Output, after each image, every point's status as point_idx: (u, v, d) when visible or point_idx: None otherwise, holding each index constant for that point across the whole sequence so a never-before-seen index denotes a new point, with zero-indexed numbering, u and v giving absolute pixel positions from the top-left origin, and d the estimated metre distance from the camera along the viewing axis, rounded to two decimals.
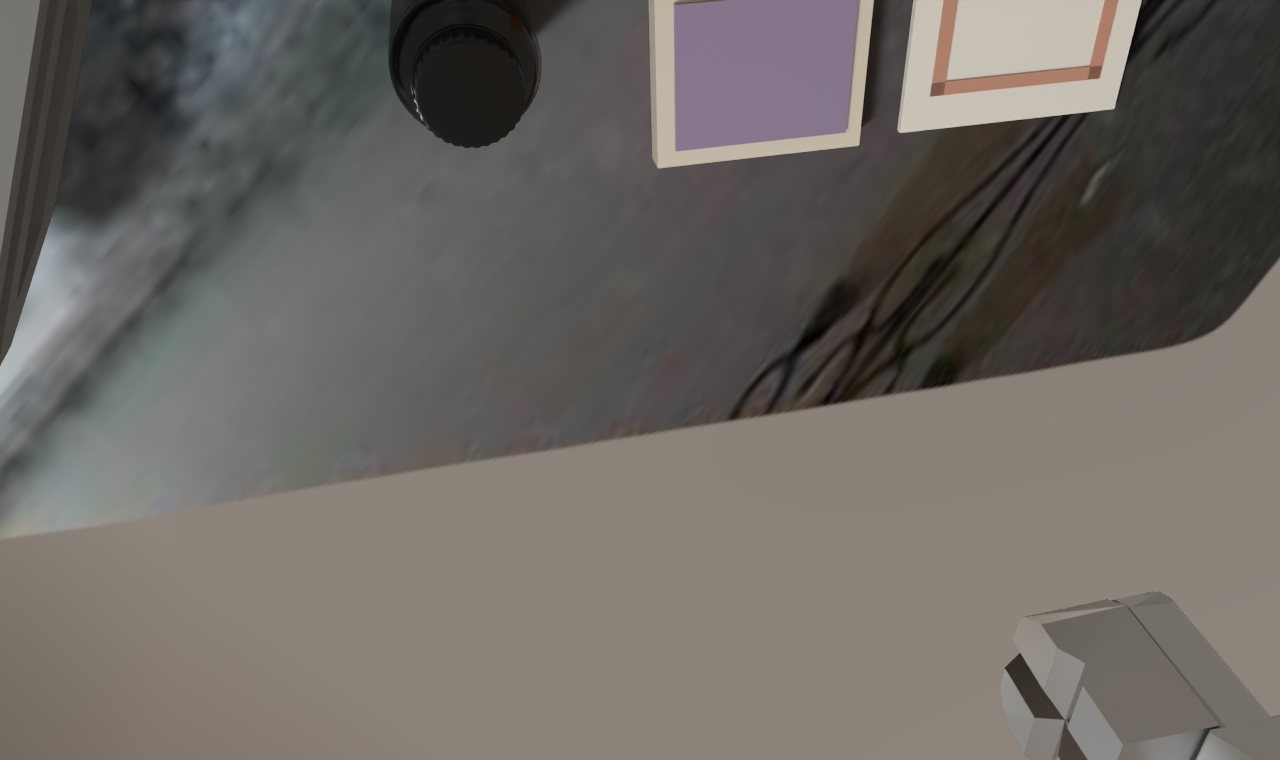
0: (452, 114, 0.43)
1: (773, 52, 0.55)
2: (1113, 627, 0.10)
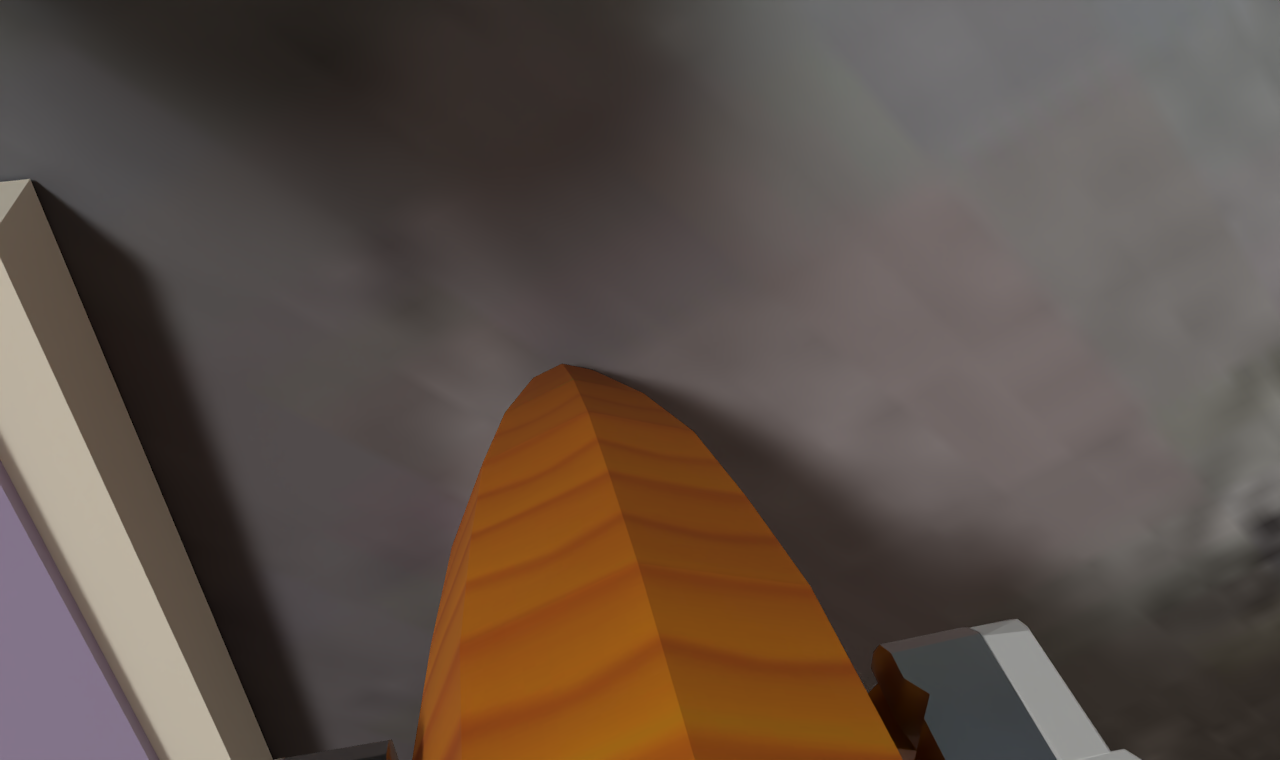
0: None
1: None
2: (963, 656, 0.10)
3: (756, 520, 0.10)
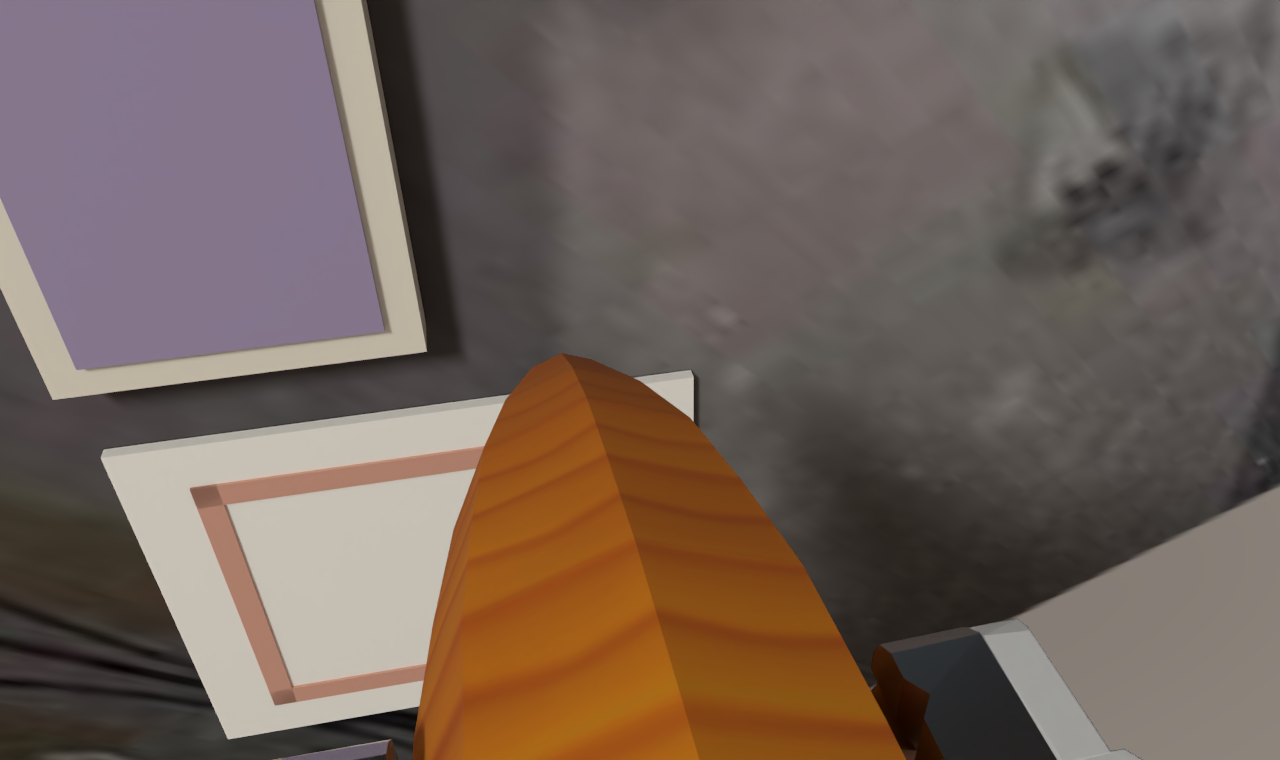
0: None
1: (227, 191, 0.25)
2: (963, 656, 0.10)
3: (750, 502, 0.11)
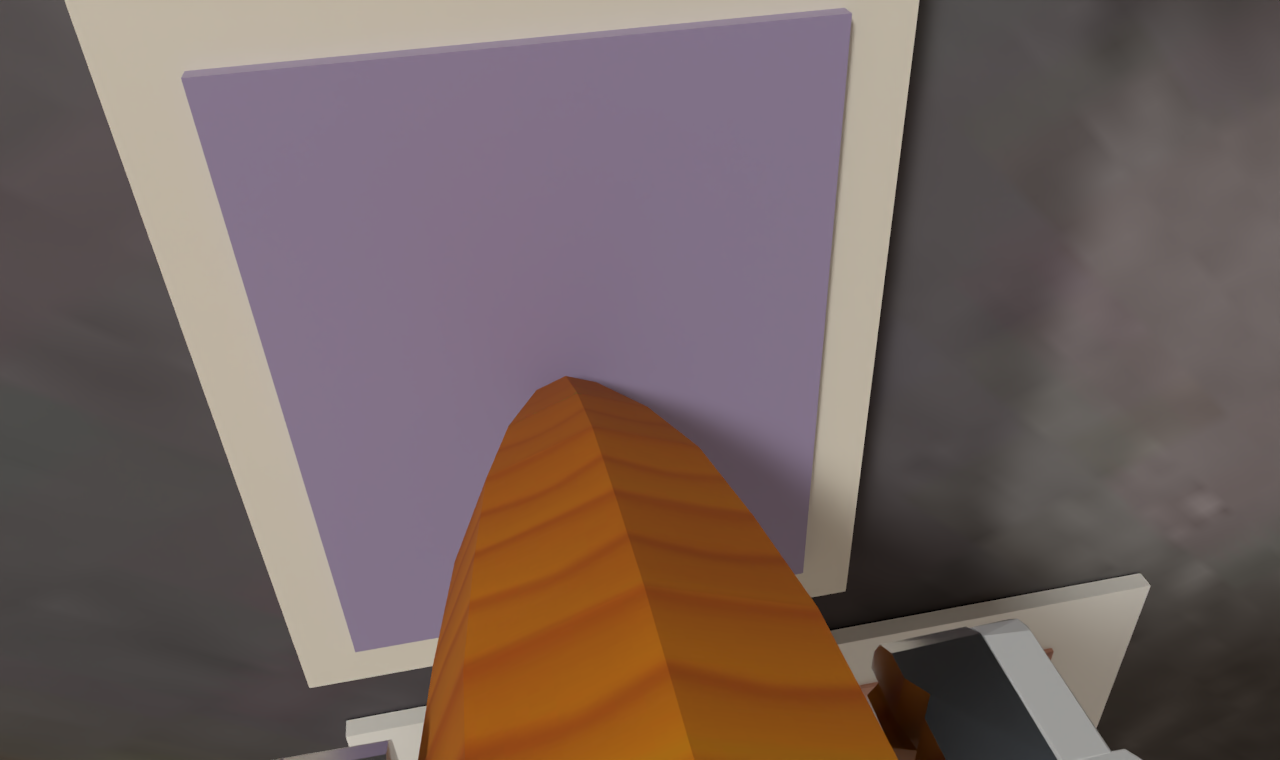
0: None
1: (634, 396, 0.15)
2: (964, 656, 0.10)
3: (763, 539, 0.10)
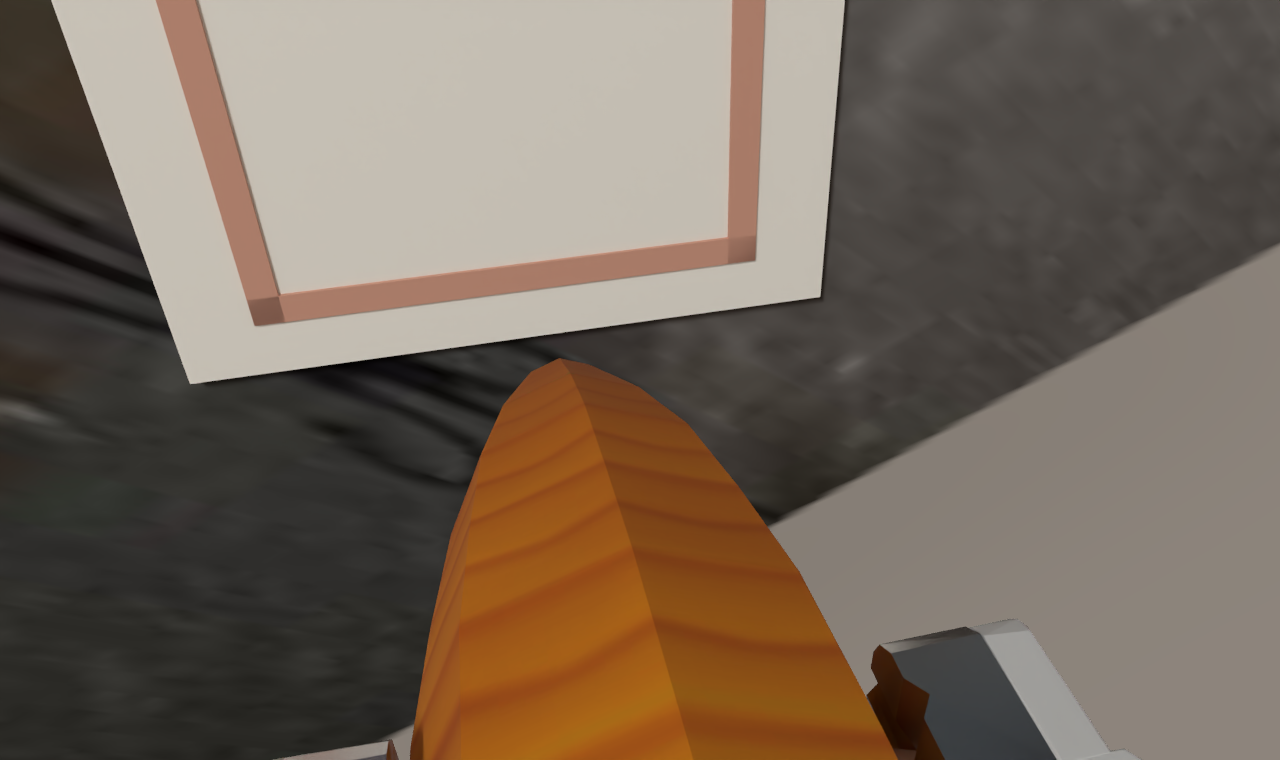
0: None
1: None
2: (963, 656, 0.10)
3: (747, 509, 0.11)
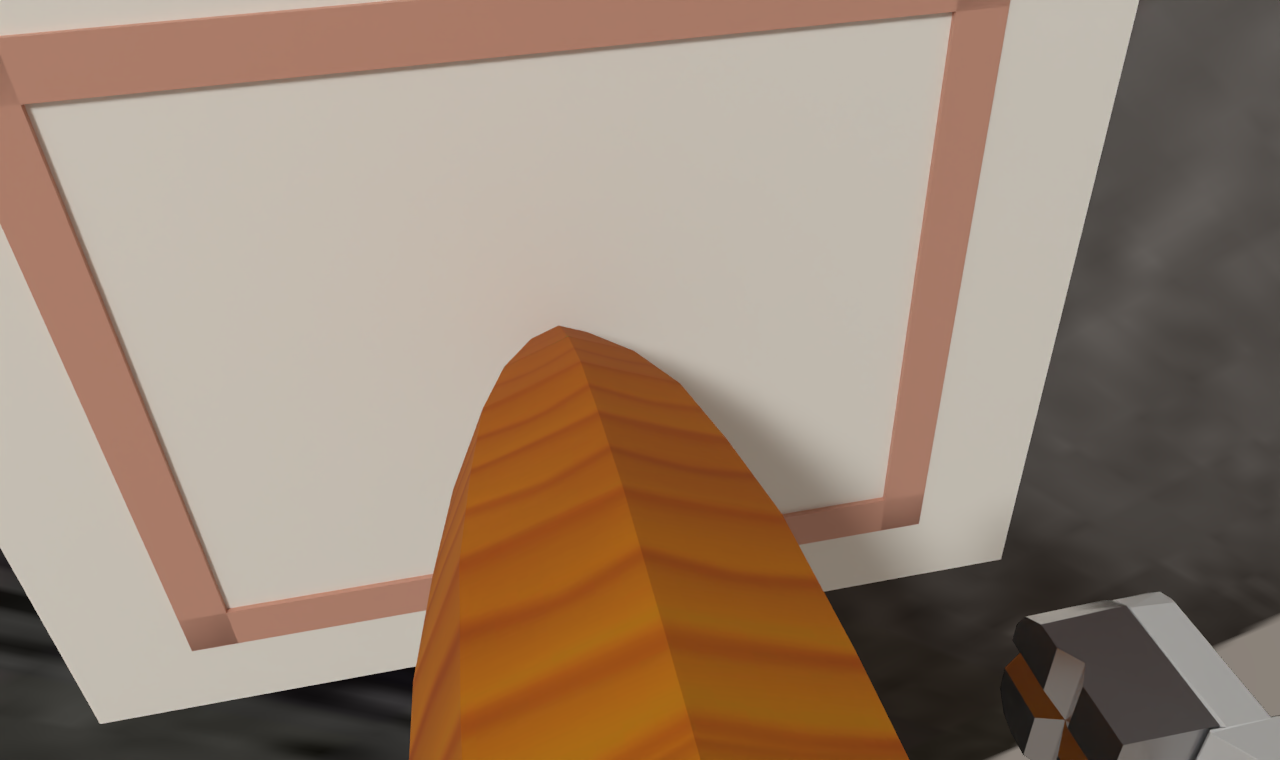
0: None
1: None
2: (1113, 627, 0.10)
3: (735, 458, 0.11)
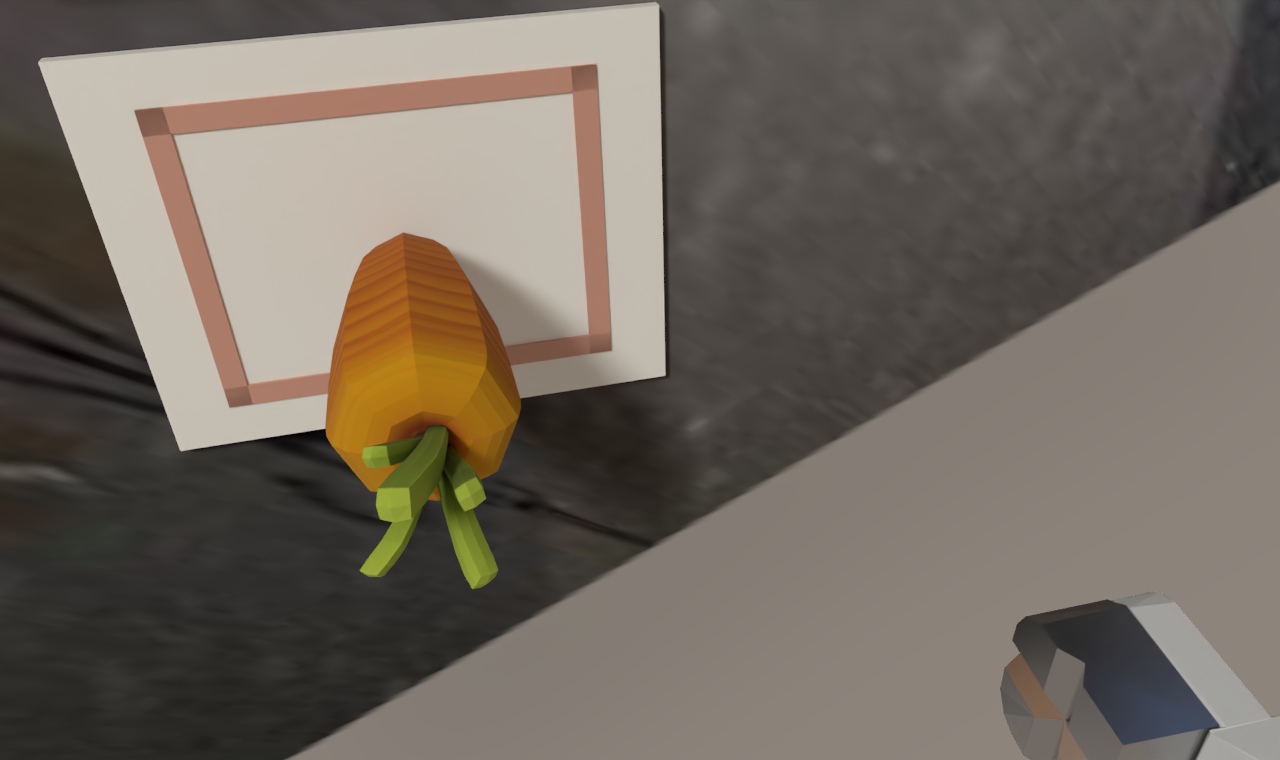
0: None
1: None
2: (1113, 627, 0.10)
3: (457, 267, 0.29)
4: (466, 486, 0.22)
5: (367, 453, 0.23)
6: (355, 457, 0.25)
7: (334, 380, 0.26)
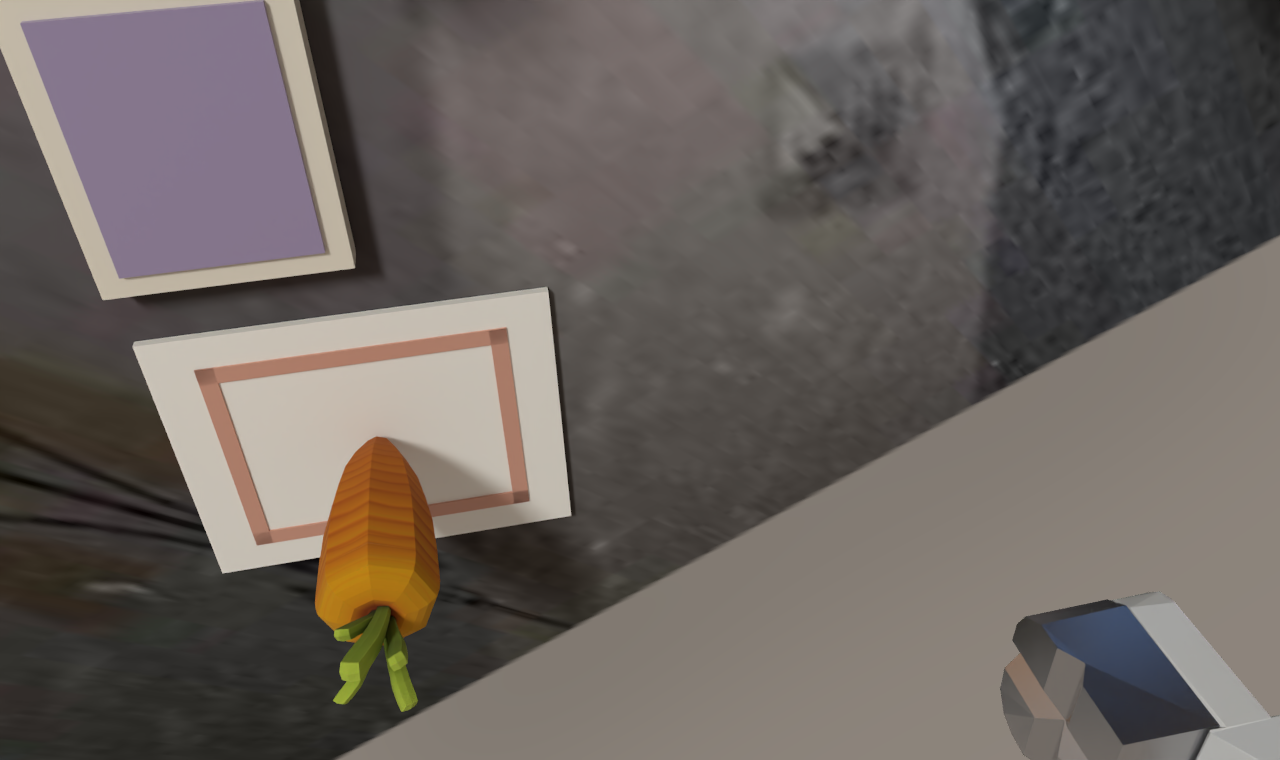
0: None
1: (218, 156, 0.38)
2: (1113, 627, 0.10)
3: (406, 480, 0.44)
4: (394, 657, 0.37)
5: (337, 633, 0.38)
6: (332, 624, 0.40)
7: (321, 570, 0.41)
